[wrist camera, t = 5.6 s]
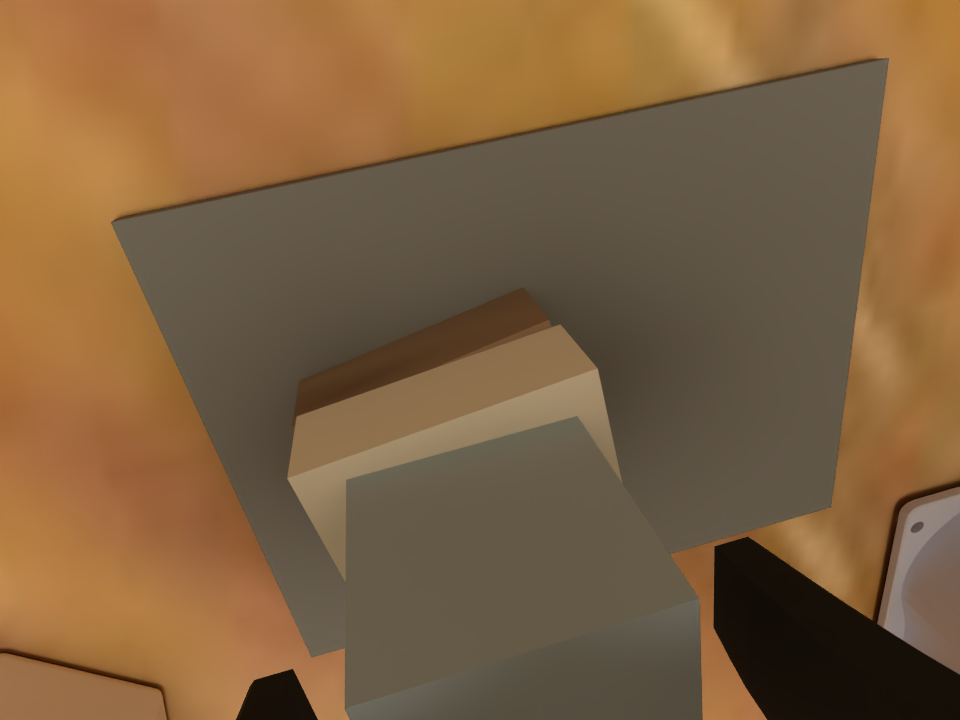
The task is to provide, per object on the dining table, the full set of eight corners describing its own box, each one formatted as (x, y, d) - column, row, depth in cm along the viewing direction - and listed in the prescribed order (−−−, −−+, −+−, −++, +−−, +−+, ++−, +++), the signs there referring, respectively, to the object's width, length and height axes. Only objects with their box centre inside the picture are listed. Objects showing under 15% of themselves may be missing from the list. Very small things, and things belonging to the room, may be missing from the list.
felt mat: (822, 499, 21) (830, 507, 21) (312, 646, 19) (311, 657, 19) (875, 59, 15) (888, 58, 14) (117, 217, 13) (110, 222, 12)
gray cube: (599, 580, 13) (704, 792, 10) (405, 639, 13) (430, 887, 9) (577, 415, 11) (699, 598, 7) (346, 479, 11) (345, 708, 7)
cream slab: (607, 522, 16) (644, 584, 14) (392, 601, 16) (398, 677, 14) (560, 324, 13) (597, 368, 11) (296, 416, 13) (286, 478, 11)
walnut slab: (584, 464, 18) (613, 513, 16) (396, 544, 18) (402, 603, 16) (522, 287, 15) (548, 319, 13) (298, 381, 15) (291, 428, 13)
